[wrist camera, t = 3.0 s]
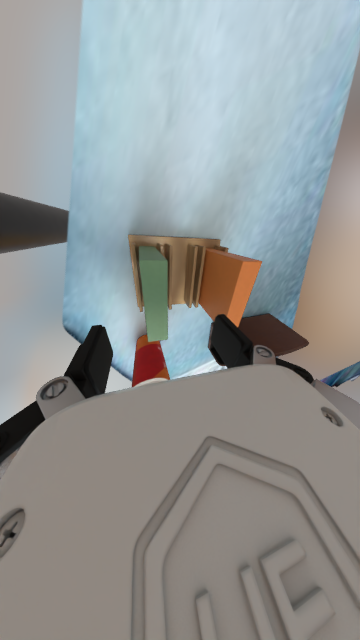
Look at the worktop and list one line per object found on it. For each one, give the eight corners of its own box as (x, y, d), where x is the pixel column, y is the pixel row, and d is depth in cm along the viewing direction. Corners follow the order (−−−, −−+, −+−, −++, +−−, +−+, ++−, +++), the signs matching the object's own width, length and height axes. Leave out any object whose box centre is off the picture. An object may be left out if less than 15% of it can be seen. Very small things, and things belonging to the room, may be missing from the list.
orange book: (193, 297, 30) (222, 332, 20) (199, 247, 25) (243, 261, 15) (204, 296, 31) (237, 330, 21) (212, 248, 26) (262, 261, 15)
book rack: (138, 304, 29) (137, 316, 25) (128, 234, 22) (126, 235, 18) (207, 300, 33) (216, 309, 29) (218, 239, 26) (232, 241, 22)
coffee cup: (155, 355, 39) (163, 411, 27) (127, 350, 35) (121, 412, 23) (168, 334, 36) (183, 387, 24) (139, 326, 32) (139, 383, 20)
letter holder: (211, 322, 38) (242, 362, 26) (269, 312, 42) (317, 343, 30) (207, 347, 43) (231, 389, 32) (258, 336, 47) (296, 370, 36)
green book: (144, 300, 28) (148, 342, 17) (138, 245, 22) (139, 260, 12) (156, 299, 28) (167, 339, 18) (154, 246, 23) (167, 260, 13)
